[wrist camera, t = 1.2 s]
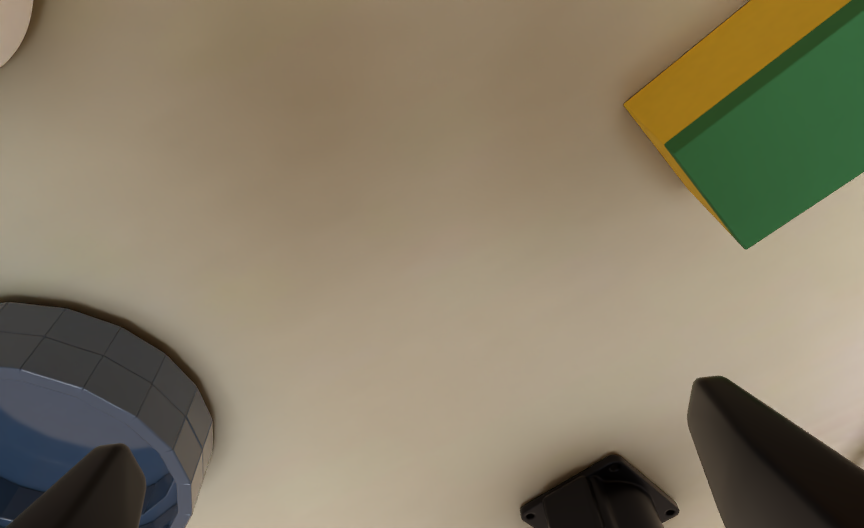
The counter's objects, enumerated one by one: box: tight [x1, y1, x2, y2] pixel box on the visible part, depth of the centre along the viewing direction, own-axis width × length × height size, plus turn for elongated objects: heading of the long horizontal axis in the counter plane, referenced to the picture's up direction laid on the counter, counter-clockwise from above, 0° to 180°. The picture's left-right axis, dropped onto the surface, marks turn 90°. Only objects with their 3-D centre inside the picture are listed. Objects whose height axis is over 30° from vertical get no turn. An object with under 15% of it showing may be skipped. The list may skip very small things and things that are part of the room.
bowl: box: [0, 302, 213, 528], centre depth 25 cm, size 13×13×4 cm
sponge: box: [624, 0, 864, 249], centre depth 19 cm, size 7×4×4 cm, turn 133°
